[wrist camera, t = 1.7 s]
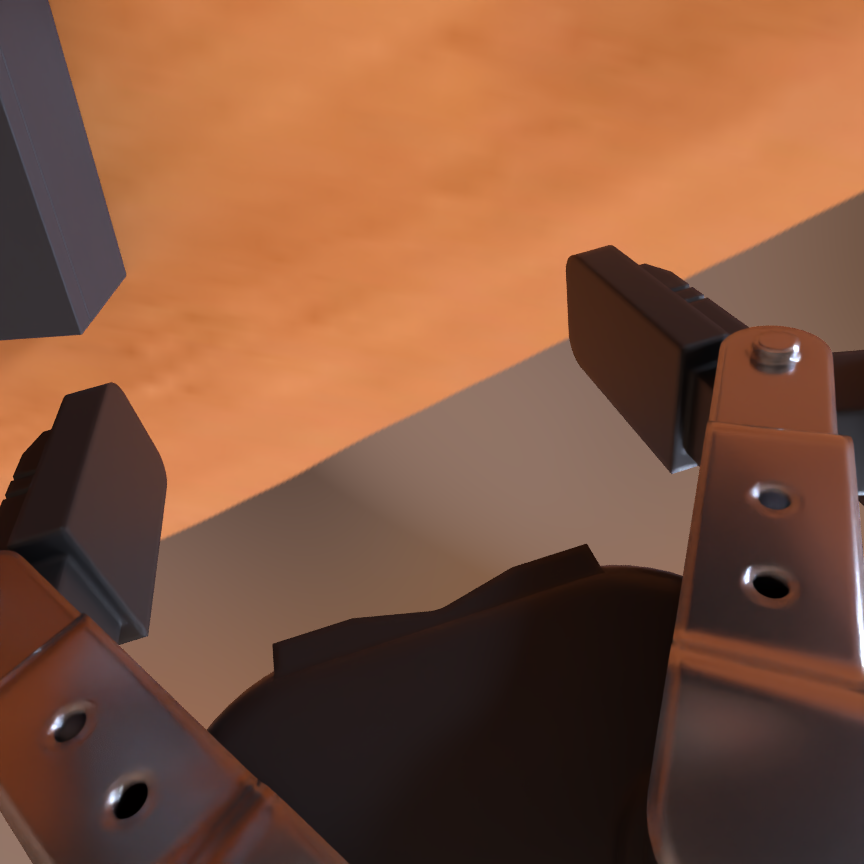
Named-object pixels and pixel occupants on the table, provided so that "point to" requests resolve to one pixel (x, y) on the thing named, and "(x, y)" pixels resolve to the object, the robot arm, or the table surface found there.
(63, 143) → the shelf
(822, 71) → the table surface
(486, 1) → the table surface
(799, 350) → the robot arm
